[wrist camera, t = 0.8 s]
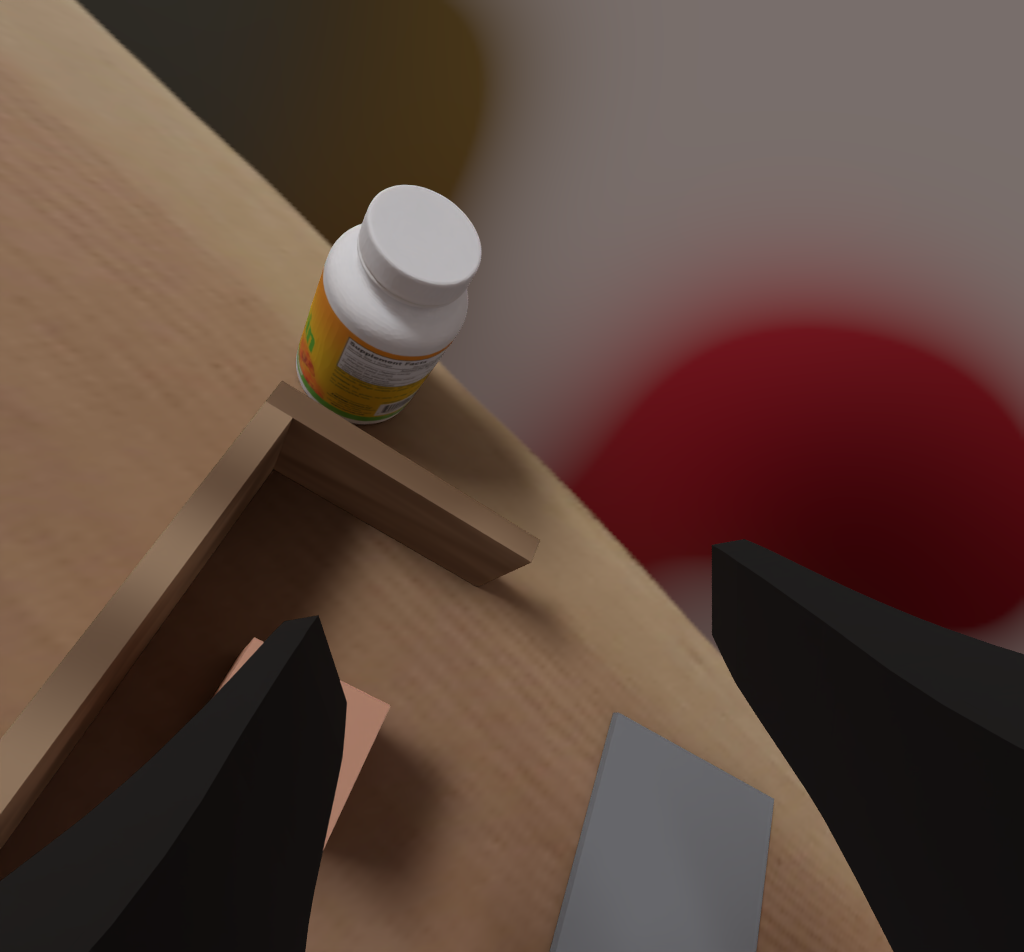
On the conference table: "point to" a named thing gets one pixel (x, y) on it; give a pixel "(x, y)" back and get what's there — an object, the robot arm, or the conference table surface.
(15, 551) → the conference table surface
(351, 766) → the terracotta block
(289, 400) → the walnut u-shaped open frame
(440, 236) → the supplement bottle
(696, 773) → the felt mat
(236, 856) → the robot arm
